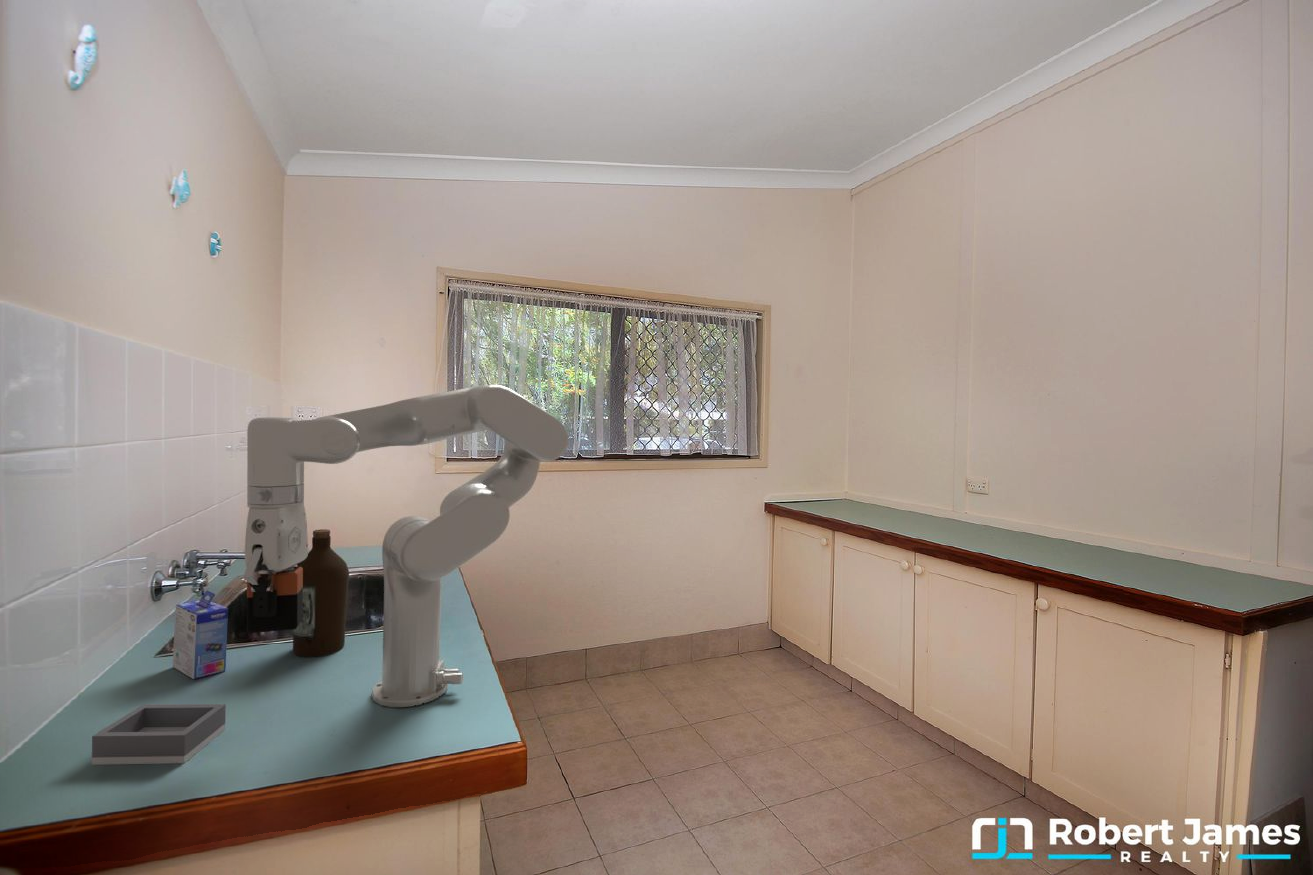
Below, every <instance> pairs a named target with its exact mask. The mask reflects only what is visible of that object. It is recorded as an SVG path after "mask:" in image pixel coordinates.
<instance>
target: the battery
mask: <svg viewBox="0 0 1313 875" xmlns="http://www.w3.org/2000/svg"><path fill="white" fill-rule="evenodd" d="M294 566H295V565H294ZM294 566H292V567H290V568H288V569H286V570H284V571H282V572H277V574H276V580H275V586H274V590H277V614H276V615H275V616H274V617H254V616H253V592H252V591H251V586H250V584H249V582H248V581H247V580H246V631H247V633H249V634H255V633H256V634H257V633H268V632H278V631H279V632H280V631H281V632H282V631H290V630H291V631H293V629H296V628H297V627H298V625H299V624H300V622H301V621H302V619H303V568H302V567H294ZM261 570H269V569H268V568H267V567H264V568H262V569H261ZM268 576H269V575H261V577H264V578H265V579H266V580H267V581H268Z"/></svg>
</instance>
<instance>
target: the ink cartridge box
mask: <svg viewBox="0 0 1313 875" xmlns="http://www.w3.org/2000/svg"><path fill="white" fill-rule="evenodd" d="M215 595H216V593H215V592H211V591H210V590H205V592H204V594H203V595H202V596H201V598H200V599H199V600H194V601H188V602H182V603H179V604H176V605H175V614H174V616H175V617H174V635H173V637H174V638H173V652H172V667H173V668H175V669H176V670H178V671H179V672H181V673H183V674H184V675H186V676H188V677H189V678H191V679H193V680H196V679H200V678H203V677H207V676H212V675H215V674H218V673H223V672H226V671H227V669H226V668H227V667H226V666H227V646H228V645H227V642H228V641H227V638H228V619H229V618H228V617H229V607H227V606H223V605H222V604H218V603H216V602H213V599H214V598H215ZM207 596H209V599H207V598H206V597H207Z"/></svg>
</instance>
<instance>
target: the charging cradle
mask: <svg viewBox="0 0 1313 875" xmlns="http://www.w3.org/2000/svg"><path fill="white" fill-rule="evenodd" d="M226 709H227V708H226V704H225V703H222V704H217V703H215V704H214V703H213V704H211V703H210V704H209V703H208V704H205V703H204V704H203V703H202V704H199V703H198V704H197V703H196V704H195V703H194V704H142V705H140V706H138V707H137V708H135V709H134V710H132V711H130V712H129V713H127V714H125V715H124V716H123V717H120V718H119V719H117V720H116V721H115V722H112V723H111V724H109V725H108V726H106V727H104V728H103V729H102V730H100V731H98V732H97V733H95V734H94V735H92V736H91V738H92V739H91V765H94V766H95V765H99V766H100V765H149V764H150V765H151V764H155V765H157V764H158V765H159V764H186V763H187V762H188V761H189V760H190V759H191V758H193V757H194V756H195V755H197V754H198V753H199V752H200V751H201V750H202V749H204V747H206V746H207V745H208V744H210V743H211V742H212V741H213V740H214V739H216V738H217V737H219V735H221V734H222V733H223V732H224V731H225V730H226V716H227V715H226V712H227V710H226Z"/></svg>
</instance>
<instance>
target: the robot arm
mask: <svg viewBox="0 0 1313 875" xmlns="http://www.w3.org/2000/svg"><path fill="white" fill-rule="evenodd" d="M484 431H489V432H490V431H491V432H492V433H495V434H496V435H498V437H499V436H500V437H501V438H502V439H504V446H503V447H504V448H503V451H502V454H501V456H500V458H499V459H498V461H496V462H495V463H494V464H493V465H492V466H490V467H488V468H487V469H486V470H485V471H483V472H481V473H480V474H479V475H477V476H475V477H473V478H472V479H470V480H468V481H467V482H465V483H464V484H462V485H459V486H458V487H457V488H454V489H453V490H452V491H450V492H449V493H448V494H446V496H445V497H444V498H443V499H442V501H441V503H440V506H439V516H436V518H433V519H432V520H430V519H428V518H425V517H422V516H419V515H418V516H417V515H411V516H405V517H402V518H400V519H398V520H396V521H395V522H393V524H391V525H390V527H389V528H388V529H387V530H386V532H385V534H384V537H383V540H382V547H381V555H382V556H381V557H382V568H383V570H382V571H383V585H384V586H383V592H384V593H383V623H382V624H383V630H382V632H383V633H382V670H381V671H382V673H381V674H382V675H381V676H382V677H381V680H380V681H378V682H377V683H376V684H375V685H374V686H373V687H372V689H371V698H372V700H373V701H374V702H375V703H376V704H378V705H381V706H383V707H384V706H385V707H389V708H409V707H410V708H411V707H416V706H420V705H423V704H422V703H424V704H427V703H430V702H431V701H434V700H437V699H438V698H440V697H441V696H443V694H445V692H446V691H447V690H446V689H448V685H462V684H463V680H464V673H462V672H460V669H459V668H447V667H444V666H445V660H444V659H441V660H440V653H441V652H440V650H441V649H440V648H441V644H440V643H441V615H442V614H441V612H442V607H441V606H442V578H445V577H446V576H448V575H450V574H451V573H452V572H454V571H455V570H457V569H458V568H460V567H461V566H463V565H465V564H466V563H467V562H469V561H470V560H471V559H473V558H474V557H476V556H477V555H479V554H480V553H482V552H483V551H484V550H486V549H487V548H489V547H490V546H491V545H492V544H494V543H495V542H496V541H497V540H499V538H500V537H502V535H504V534H503V533H504V532H505V531H506V529H507V527H508V525H509V522H510V512H511V511H510V507H512V506H513V505H514V504H516V503H517V502H519V501H520V500H521V499H522V498H524V497H525V496H526V495H527V494H528V493H529V491H531V489H532V488H533V486H534V485H535V482H536V480H537V477H538V474H539V469H540V465H541V462H552V461H553V462H554V461H555V460H557V459H559V458H561V456H563V455H564V454H565V452H566V450H567V448H568V446H569V433H568V430H567V429H566V426H565V425H564V424H563V423H562V422H561V420H559V419H558V418H557V417H555V416H553V415H552V414H550V413H549V412H548V411H546V410H544V409H542V408H541V407H539V406H538V405H536V404H534V403H533V402H531V401H530V400H529V399H526V397H524V396H522V395H521V394H519V393H517V392H516V391H514V390H512V389H511V388H509V387H506V386H504V385H499V384H489V385H488V384H487V385H485V384H484V385H475V386H470V387H466V388H460V389H459V388H458V389H453V390H449V391H445V392H439V393H433V394H428V395H422V396H417V397H411V398H406V399H401V400H397V401H395V402H391V403H387V404H383V405H378V406H372V407H368V408H360V409H356V410H352V411H346V412H342V413H341V412H340V413H335V414H329V415H324V416H321V417H320V416H319V417H317V418H314V419H303V420H301V419H297V418H294V417H293V418H292V417H256V418H253V419H251V420H250V421H249V422H248V424H247V430H246V432H247V434H246V436H247V439H246V441H247V446H246V447H247V449H246V450H247V454H246V455H247V458H246V459H247V462H246V464H247V466H246V467H247V472H246V473H247V475H246V476H247V479H246V480H247V481H246V483H247V485H246V488H247V491H246V492H247V493H246V501H247V503H246V504H247V506H246V507H247V508H248V514H247V520H246V527H245V540H244V542H245V543H244V564H245V570H244V573H243V578H244V580H245V581H246V582H247V581H248V582H249V584H250V586H251V591H252V592H253V616H254V617H274V616H275V615H276V614H277V590H274V586H275V580H276V574H277V572H282V571H284V570H286V569H288V568H290V567H292V566H294V565H295V566H294V567H299V565H300V562H302V561H303V560H305V559H306V558H307V556H308V553H309V542H308V541H309V537H308V525H307V524H308V522H307V514H306V507H305V463H315V464H316V463H317V464H325V465H326V464H328V465H335V464H341V463H344V462H347V461H349V460H351V459H352V458H354V456H355V455H357V453H360V452H365V451H366V452H367V451H369V450H375V449H381V448H389V447H413V446H423V445H428V444H432V443H436V442H441V441H444V440H448V439H452V438H458V437H461V436H466V435H467V436H468V435H470V434H474V433H475V434H476V433H479V432H484ZM264 567H267V568H268V569H269V570H261V569H262V568H264ZM261 575H269V576H268V581H267V580H266V579H265V578H264V577H261ZM439 696H440V697H439ZM415 705H416V706H415Z"/></svg>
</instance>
